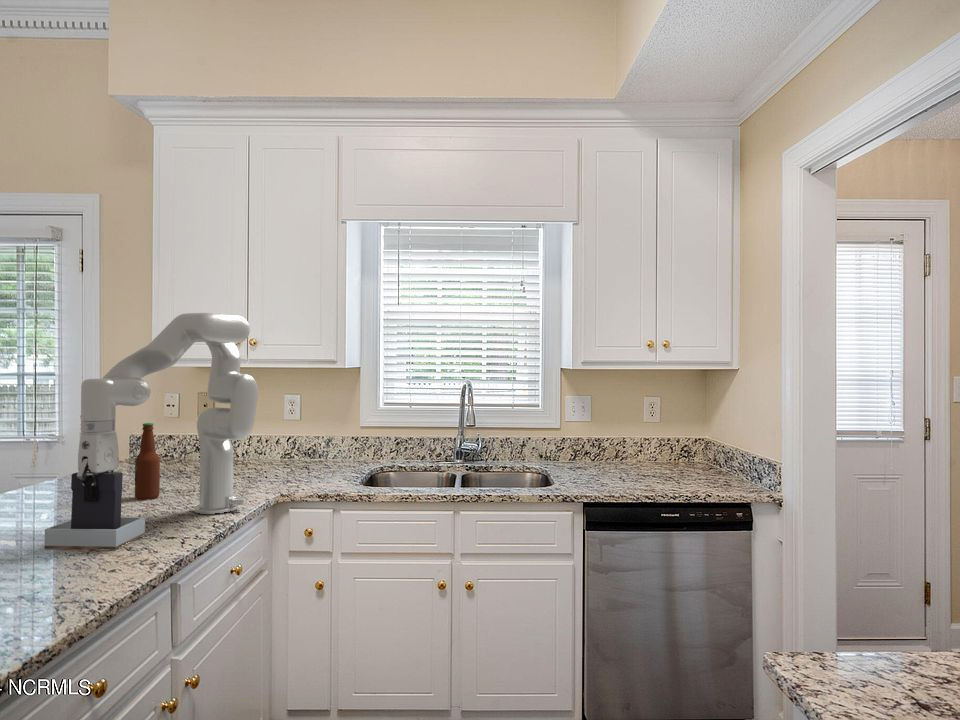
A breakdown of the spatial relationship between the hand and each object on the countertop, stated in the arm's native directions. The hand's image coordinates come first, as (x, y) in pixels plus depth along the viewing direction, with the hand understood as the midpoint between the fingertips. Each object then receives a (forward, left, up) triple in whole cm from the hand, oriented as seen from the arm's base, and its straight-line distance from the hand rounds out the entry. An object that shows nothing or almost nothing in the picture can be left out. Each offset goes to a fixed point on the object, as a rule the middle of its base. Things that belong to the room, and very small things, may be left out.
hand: (97, 498), depth 157 cm
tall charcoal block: (0, 0, -9) cm, 9 cm away
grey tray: (0, 0, -11) cm, 11 cm away
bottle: (+15, -50, -11) cm, 53 cm away
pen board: (0, 0, -11) cm, 11 cm away
